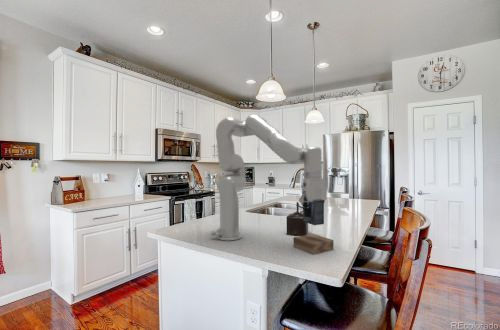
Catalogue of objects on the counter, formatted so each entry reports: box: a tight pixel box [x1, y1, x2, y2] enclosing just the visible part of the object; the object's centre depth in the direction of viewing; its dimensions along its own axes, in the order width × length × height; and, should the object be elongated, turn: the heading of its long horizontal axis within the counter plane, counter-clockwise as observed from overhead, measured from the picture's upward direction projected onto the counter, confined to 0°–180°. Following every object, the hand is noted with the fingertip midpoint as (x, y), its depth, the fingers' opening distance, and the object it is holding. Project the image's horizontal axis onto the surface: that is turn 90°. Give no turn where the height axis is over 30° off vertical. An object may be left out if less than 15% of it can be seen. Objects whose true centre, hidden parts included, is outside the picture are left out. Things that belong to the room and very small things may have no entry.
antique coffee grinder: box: [285, 201, 309, 237], centre depth 133 cm, size 16×11×18 cm
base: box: [293, 233, 335, 256], centre depth 110 cm, size 12×12×4 cm
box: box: [302, 200, 325, 226], centre depth 110 cm, size 8×6×11 cm
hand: (313, 216), depth 110 cm, fingers closed on box, 6 cm apart
